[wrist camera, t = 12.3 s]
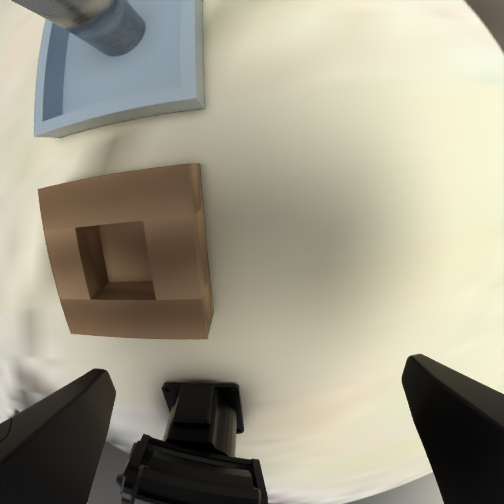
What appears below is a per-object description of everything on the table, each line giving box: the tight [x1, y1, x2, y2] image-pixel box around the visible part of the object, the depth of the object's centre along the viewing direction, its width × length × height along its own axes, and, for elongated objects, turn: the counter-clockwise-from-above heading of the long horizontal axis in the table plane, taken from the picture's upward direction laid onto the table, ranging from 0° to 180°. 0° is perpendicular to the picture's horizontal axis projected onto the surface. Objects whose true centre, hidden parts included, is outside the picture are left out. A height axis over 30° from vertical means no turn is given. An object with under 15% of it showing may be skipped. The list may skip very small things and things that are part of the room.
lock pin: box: [12, 0, 146, 57], centre depth 9 cm, size 4×4×10 cm
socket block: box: [38, 164, 214, 339], centre depth 17 cm, size 10×10×4 cm
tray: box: [34, 0, 205, 138], centre depth 13 cm, size 13×11×3 cm
